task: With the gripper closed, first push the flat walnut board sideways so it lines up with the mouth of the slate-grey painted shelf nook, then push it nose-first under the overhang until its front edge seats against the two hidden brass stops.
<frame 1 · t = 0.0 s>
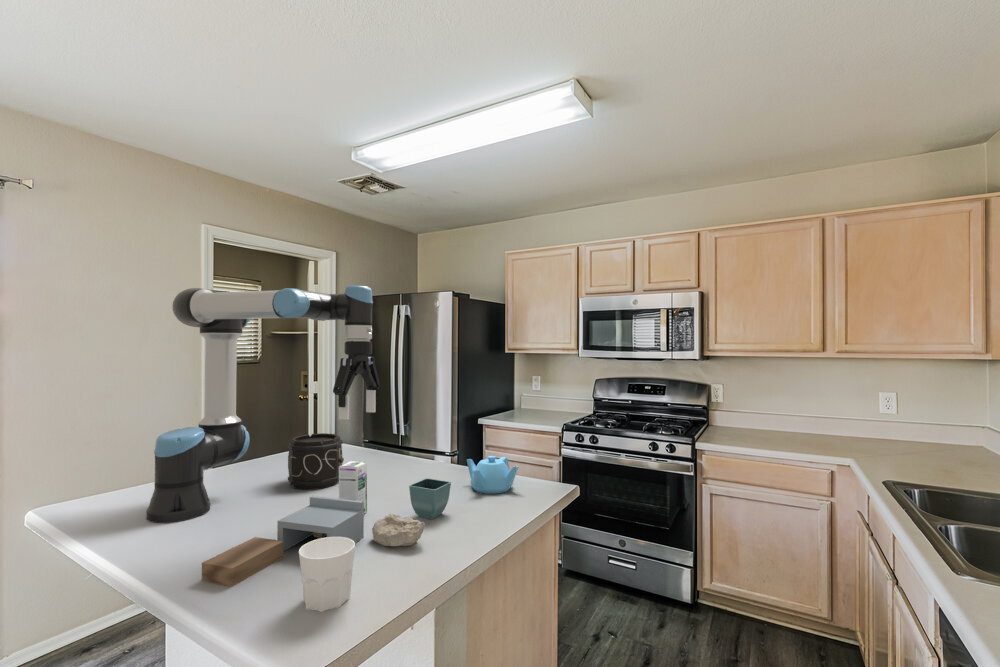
hand: (357, 415, 138), 28 cm above the counter, fingers open, 13 cm apart
board: (244, 570, 105), on the counter
teapot: (491, 489, 163), on the counter
coffee canister: (316, 483, 169), on the counter
syrup box: (352, 515, 138), on the counter
flower pot: (430, 516, 138), on the counter
stone: (395, 544, 118), on the counter
cup: (326, 600, 93), on the counter
shelf: (320, 544, 117), on the counter
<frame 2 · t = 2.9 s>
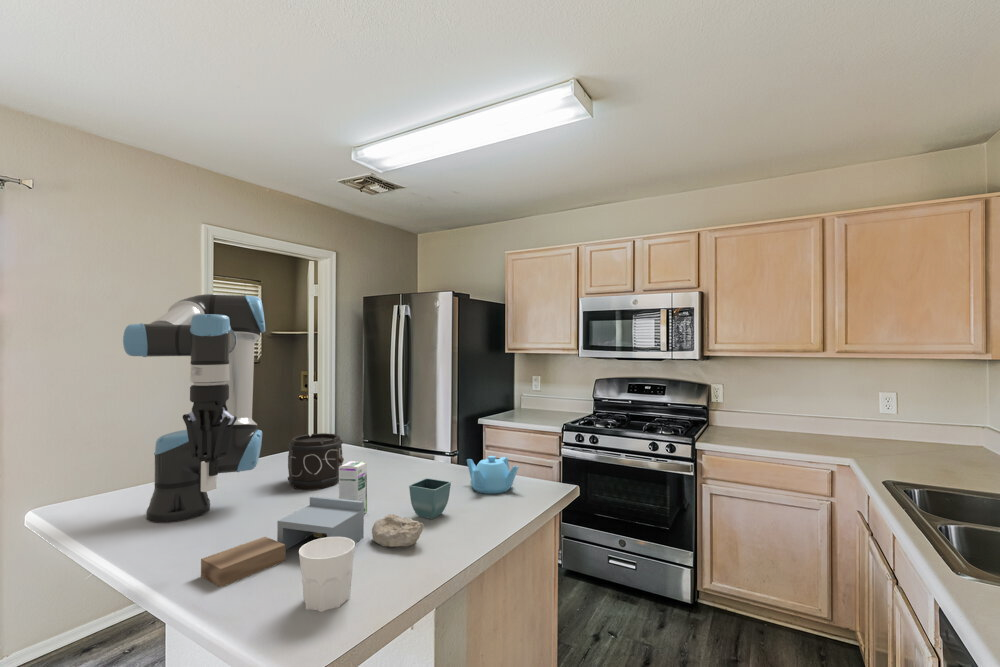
hand: (208, 490, 108), 16 cm above the counter, fingers closed
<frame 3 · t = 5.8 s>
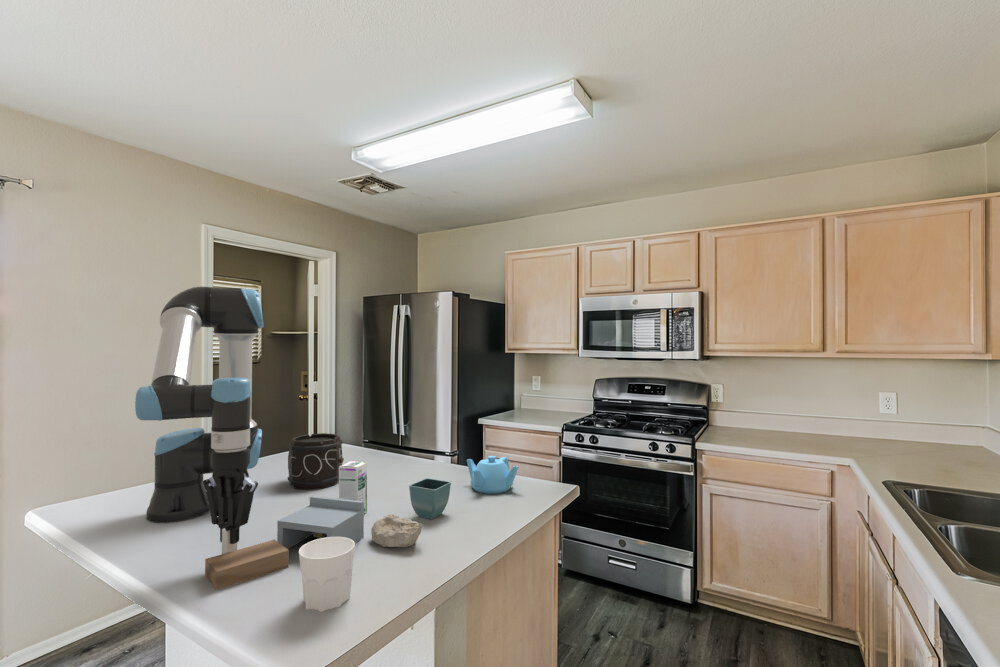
hand: (229, 557, 106), 2 cm above the counter, fingers closed
board: (247, 573, 104), on the counter
everything else where it was.
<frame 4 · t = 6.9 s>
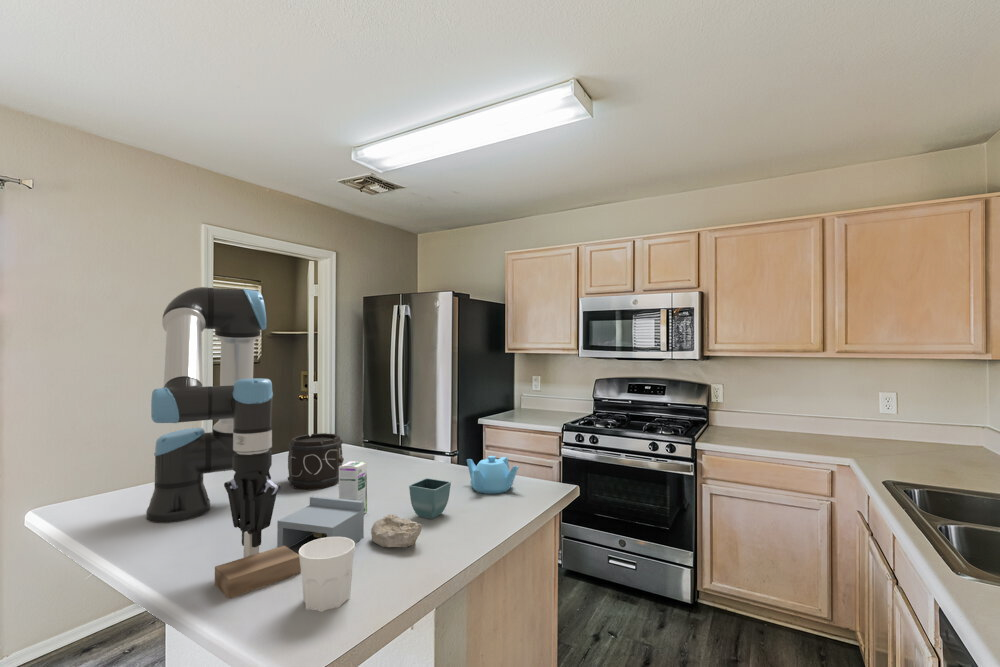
hand: (251, 560, 105), 2 cm above the counter, fingers closed
board: (258, 580, 101), on the counter, touching gripper
everything else where it was.
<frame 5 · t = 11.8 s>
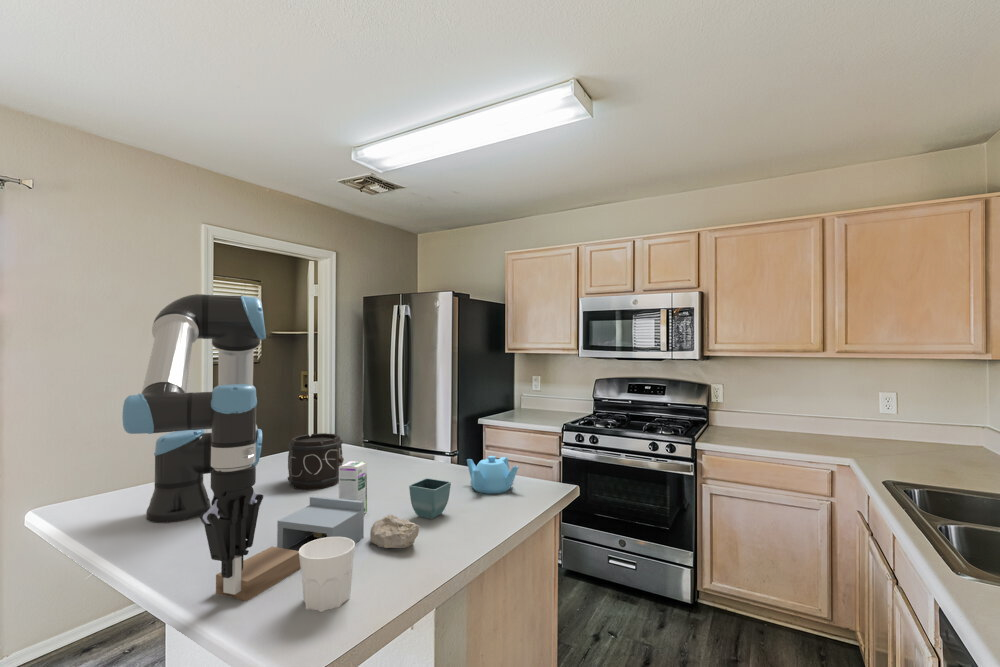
hand: (232, 591, 92), 2 cm above the counter, fingers closed
board: (260, 582, 100), on the counter, touching gripper
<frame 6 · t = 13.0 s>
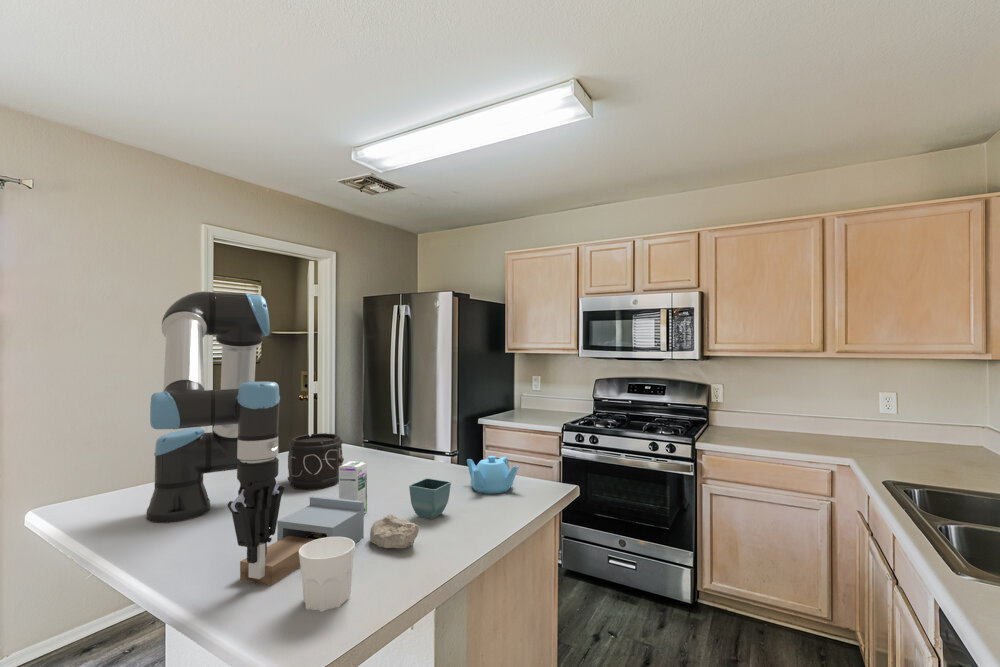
hand: (256, 576, 98), 2 cm above the counter, fingers closed
board: (280, 568, 106), on the counter, touching gripper
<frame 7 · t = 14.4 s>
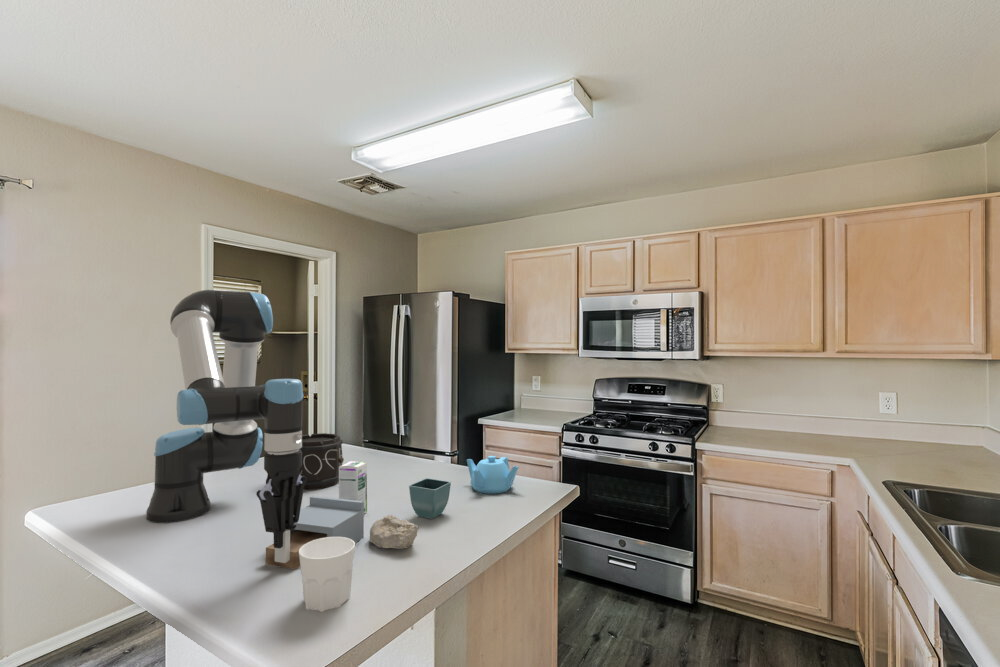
hand: (282, 560, 105), 2 cm above the counter, fingers closed
board: (302, 555, 113), on the counter, touching gripper
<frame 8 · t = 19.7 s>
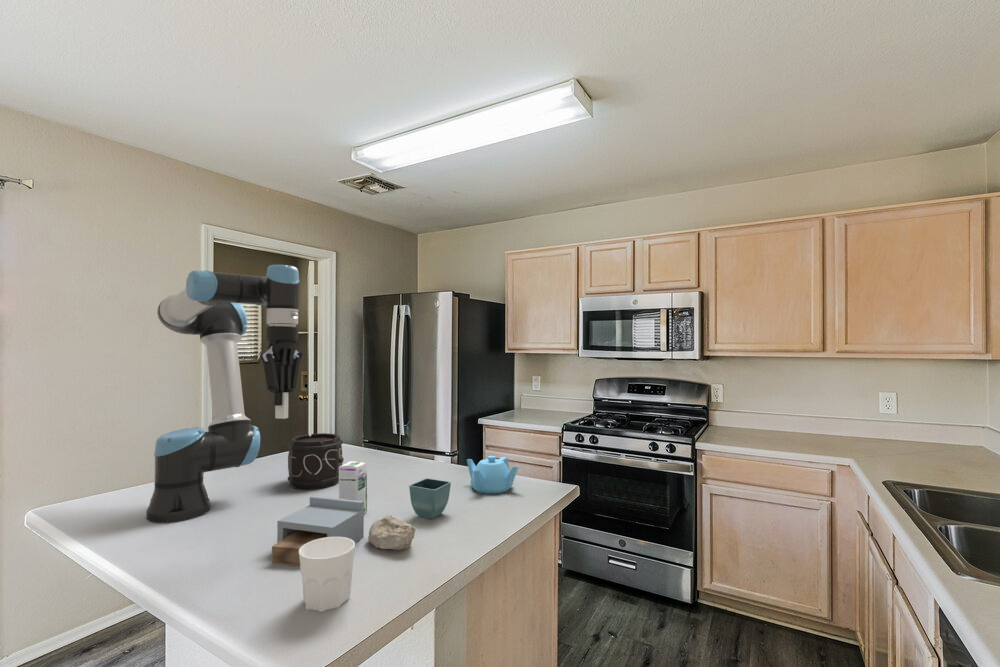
hand: (281, 417, 125), 29 cm above the counter, fingers closed
board: (305, 552, 114), on the counter
at the end: board 1.1 cm from the target spot, on the counter; board tilted 0°; the gripper is holding nothing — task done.
